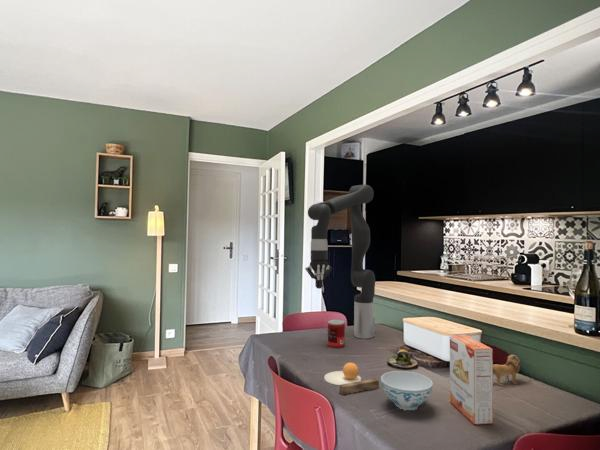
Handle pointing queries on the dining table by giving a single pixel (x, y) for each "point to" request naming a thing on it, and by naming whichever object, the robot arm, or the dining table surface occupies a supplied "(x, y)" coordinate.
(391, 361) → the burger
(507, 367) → the lion figurine
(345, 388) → the strip
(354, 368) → the ball
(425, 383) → the chinaware
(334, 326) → the canned food
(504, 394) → the dining table surface
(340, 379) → the disc
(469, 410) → the cracker box
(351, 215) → the robot arm
